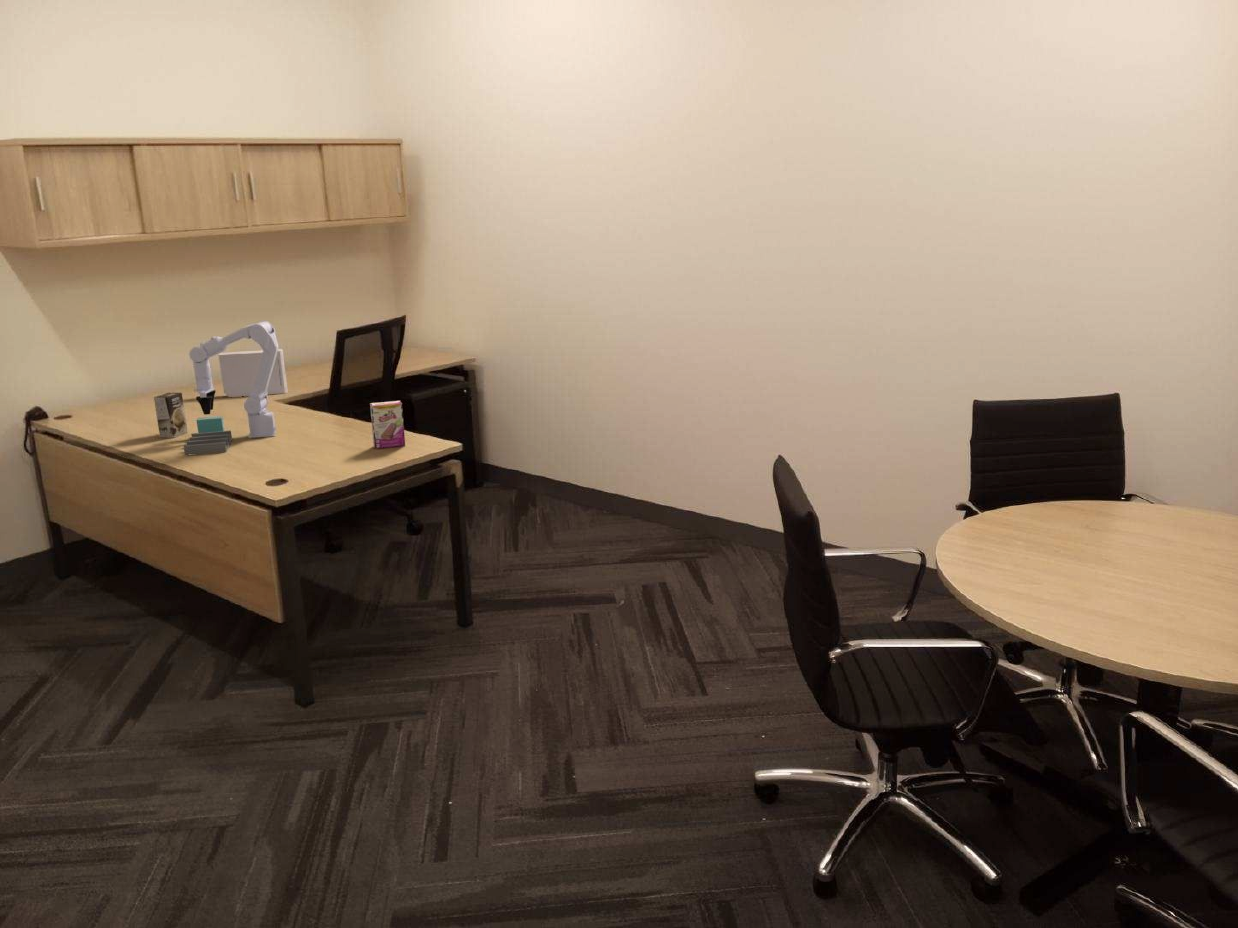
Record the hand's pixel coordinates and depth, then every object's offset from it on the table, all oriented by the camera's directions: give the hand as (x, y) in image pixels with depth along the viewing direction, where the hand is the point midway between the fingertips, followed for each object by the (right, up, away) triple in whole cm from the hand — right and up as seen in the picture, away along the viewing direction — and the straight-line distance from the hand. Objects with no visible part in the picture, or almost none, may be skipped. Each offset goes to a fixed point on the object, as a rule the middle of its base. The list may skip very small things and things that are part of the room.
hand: (208, 412), depth 371 cm
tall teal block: (0, -9, +3) cm, 10 cm away
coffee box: (-16, -9, +7) cm, 20 cm away
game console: (-9, +12, +74) cm, 76 cm away
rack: (+5, -14, -12) cm, 19 cm away
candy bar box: (+73, -14, -16) cm, 76 cm away
